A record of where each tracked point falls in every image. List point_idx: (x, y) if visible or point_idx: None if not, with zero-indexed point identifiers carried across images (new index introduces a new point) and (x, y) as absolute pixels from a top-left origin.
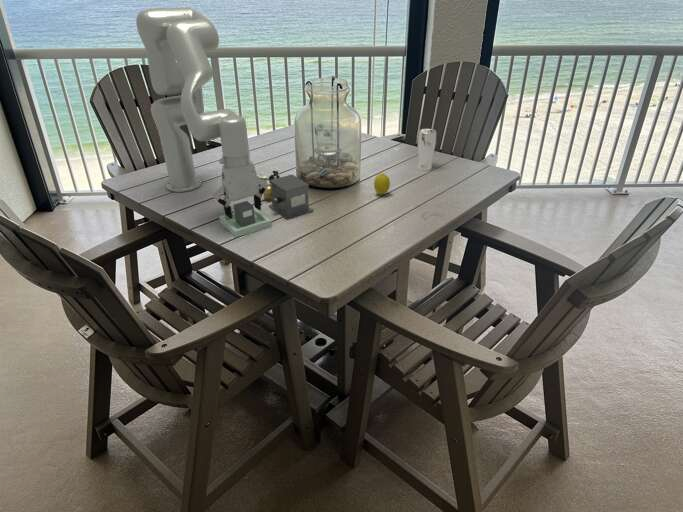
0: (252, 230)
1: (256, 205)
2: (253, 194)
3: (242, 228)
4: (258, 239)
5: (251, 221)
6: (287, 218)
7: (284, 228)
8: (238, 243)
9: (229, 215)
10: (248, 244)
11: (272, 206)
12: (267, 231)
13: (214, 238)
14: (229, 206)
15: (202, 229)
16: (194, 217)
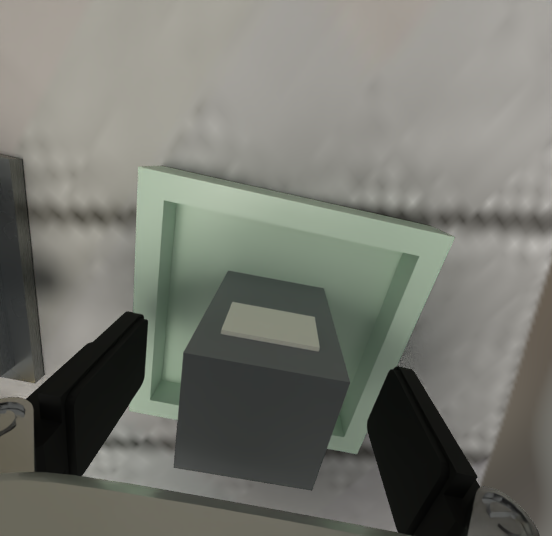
0: (311, 199)
1: (130, 368)
2: (65, 503)
3: (384, 234)
4: (358, 68)
5: (252, 283)
6: (7, 158)
7: (102, 52)
8: (488, 141)
9: (418, 394)
10: (463, 62)
11: (24, 357)
12: (229, 123)
13: (509, 313)
14: (456, 482)
15: (458, 427)
16: (387, 520)
